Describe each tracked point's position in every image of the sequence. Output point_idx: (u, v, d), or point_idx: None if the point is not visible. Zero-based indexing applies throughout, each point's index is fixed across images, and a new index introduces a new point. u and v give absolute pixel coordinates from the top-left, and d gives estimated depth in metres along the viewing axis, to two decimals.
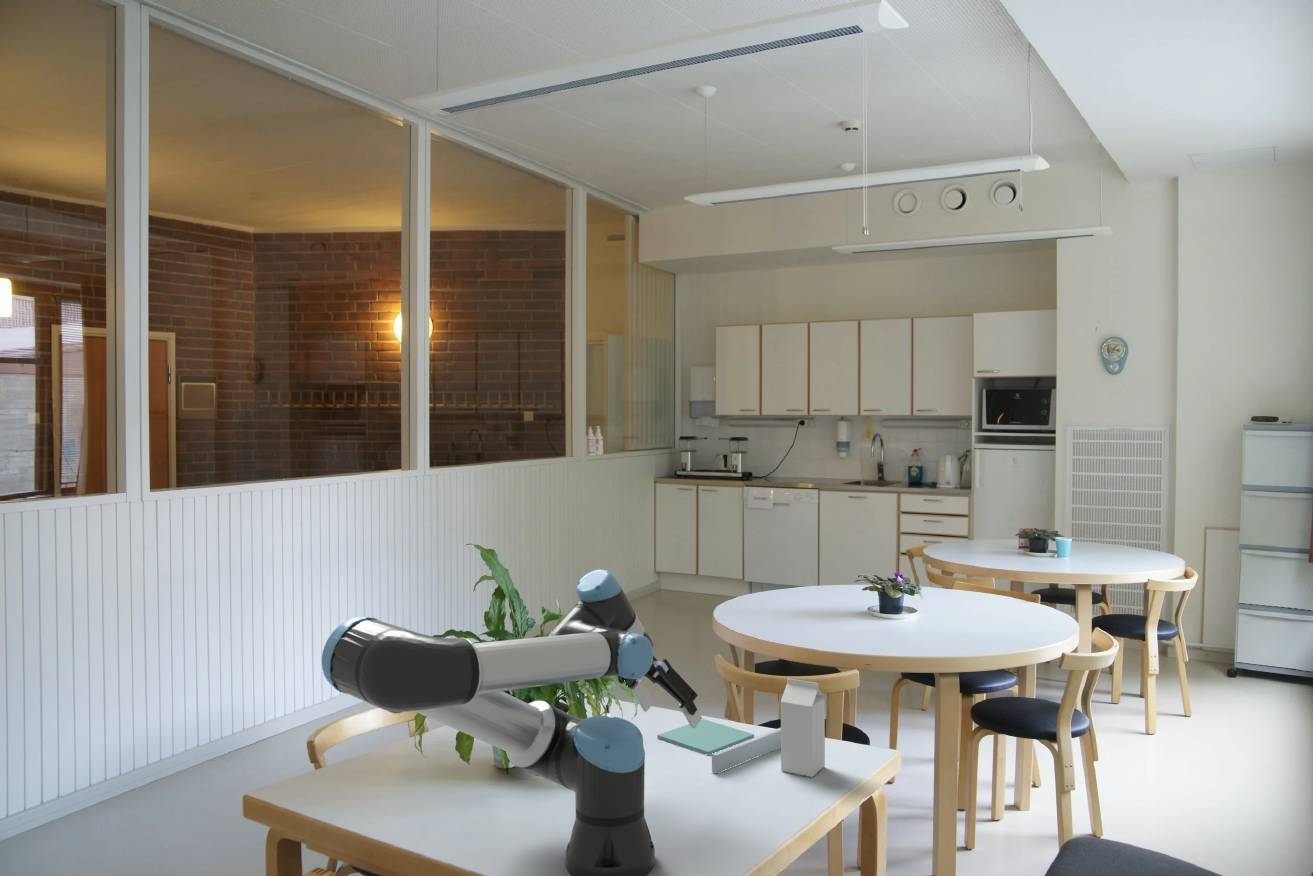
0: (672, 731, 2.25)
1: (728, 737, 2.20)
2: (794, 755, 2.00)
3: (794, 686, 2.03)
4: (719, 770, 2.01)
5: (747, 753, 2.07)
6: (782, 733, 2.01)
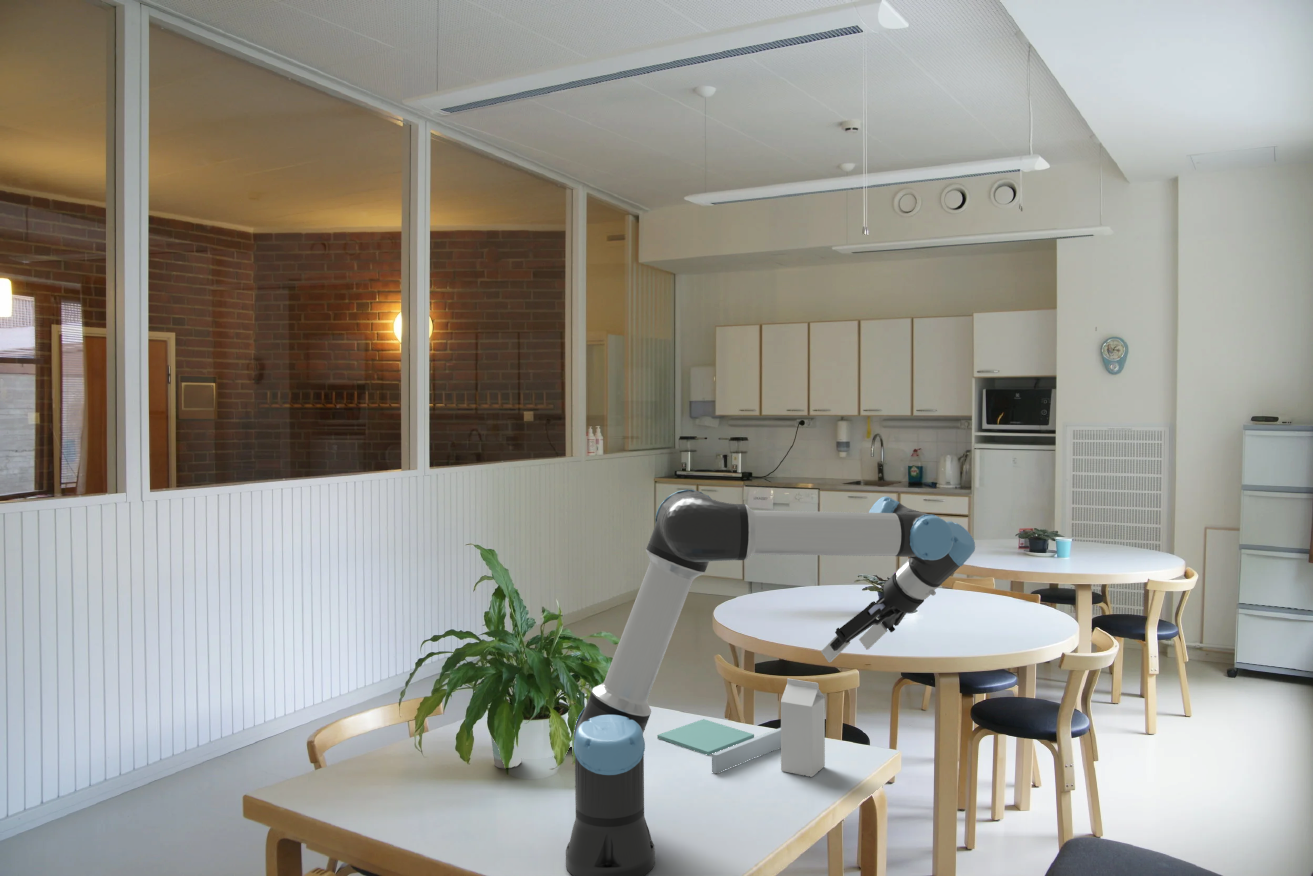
0: (672, 731, 2.25)
1: (728, 737, 2.20)
2: (794, 755, 2.00)
3: (794, 686, 2.03)
4: (719, 770, 2.01)
5: (747, 753, 2.07)
6: (782, 733, 2.01)
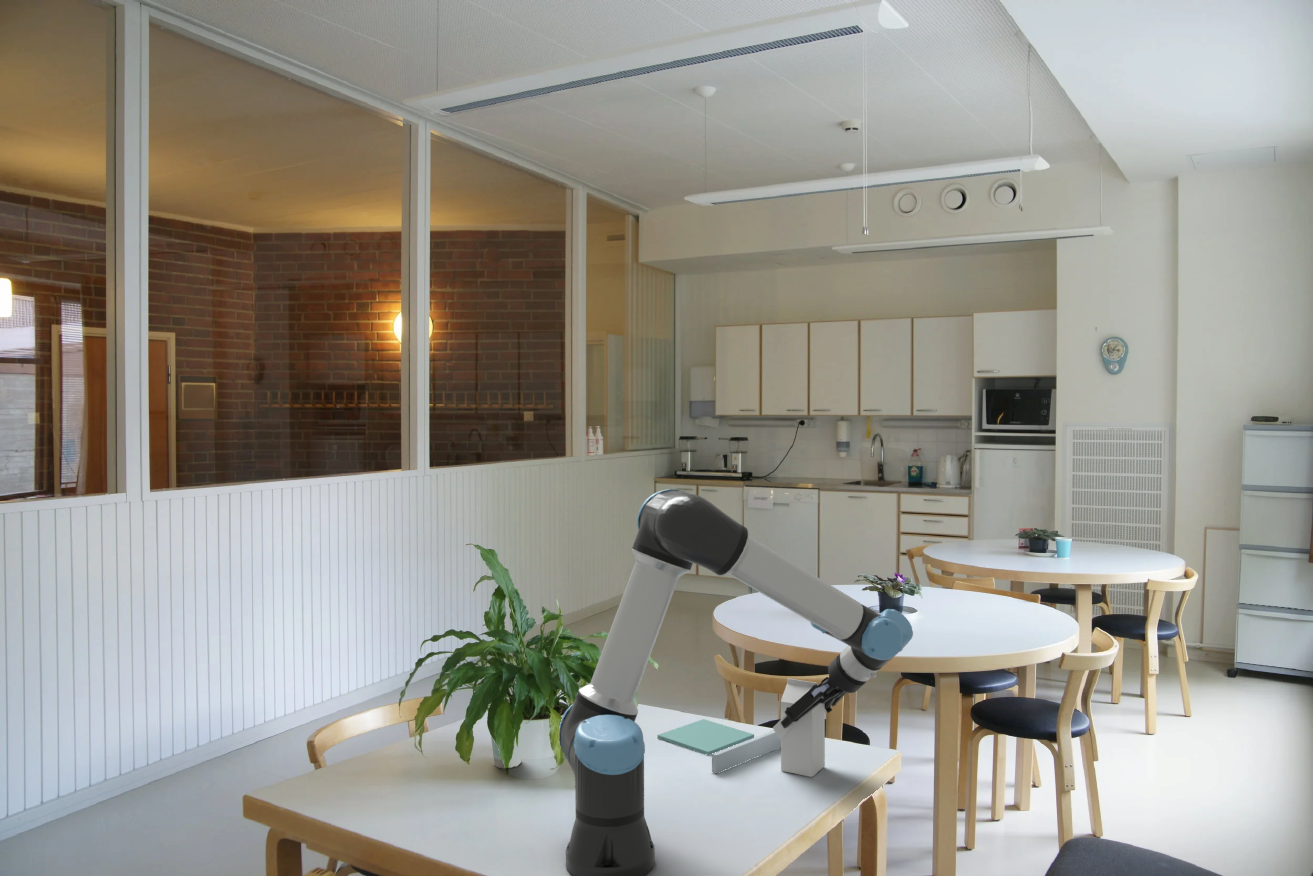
0: (672, 731, 2.25)
1: (728, 737, 2.20)
2: (794, 755, 2.00)
3: (794, 686, 2.03)
4: (719, 770, 2.01)
5: (747, 753, 2.07)
6: None
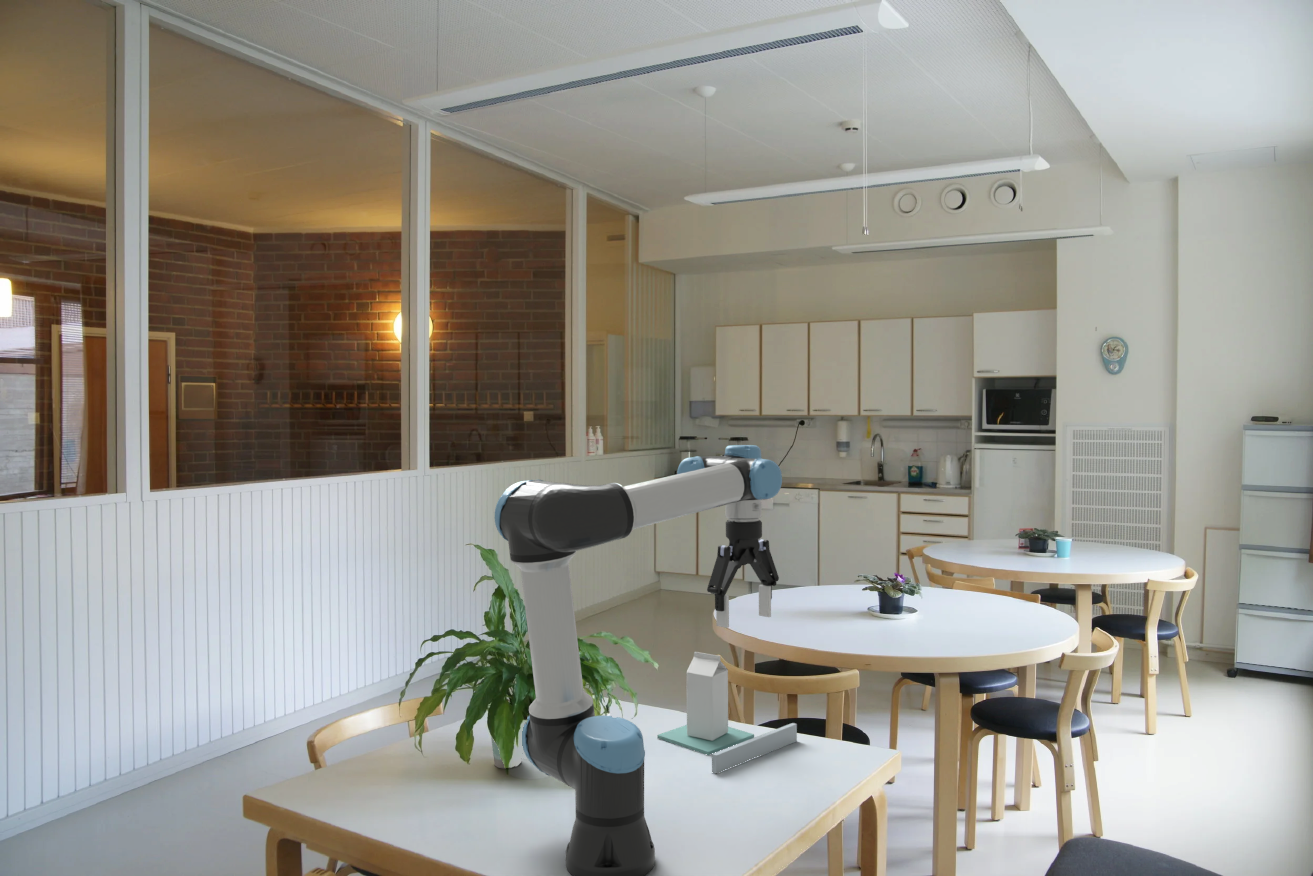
0: (672, 731, 2.25)
1: (728, 737, 2.20)
2: (697, 721, 2.20)
3: (699, 658, 2.23)
4: (719, 770, 2.01)
5: (747, 753, 2.07)
6: (687, 701, 2.21)
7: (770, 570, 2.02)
